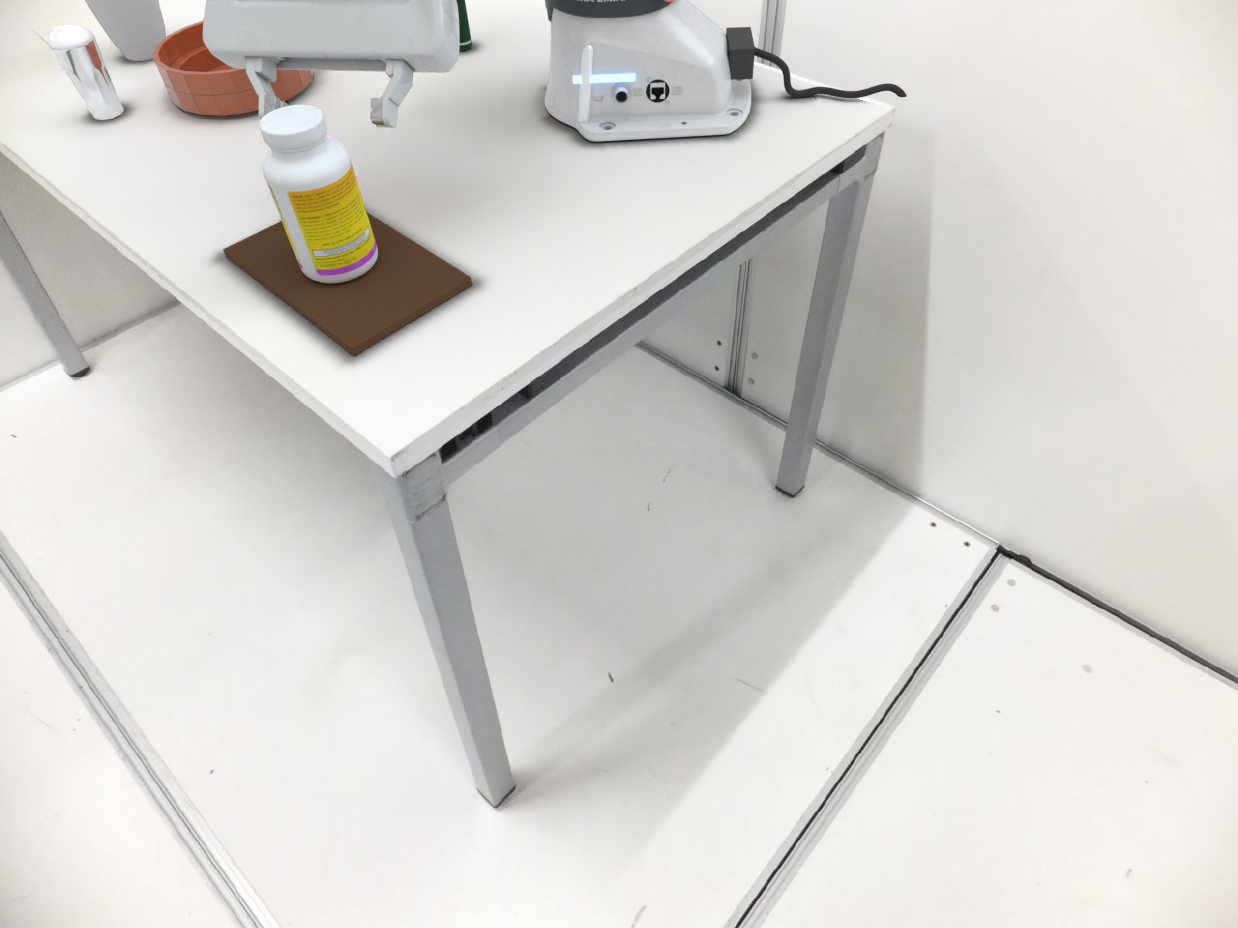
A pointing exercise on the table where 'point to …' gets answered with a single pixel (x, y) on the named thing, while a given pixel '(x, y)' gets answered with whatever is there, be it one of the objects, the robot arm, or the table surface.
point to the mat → (354, 285)
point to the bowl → (214, 77)
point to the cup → (131, 25)
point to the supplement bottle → (317, 195)
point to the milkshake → (85, 69)
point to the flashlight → (463, 27)
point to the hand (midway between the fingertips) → (327, 124)
